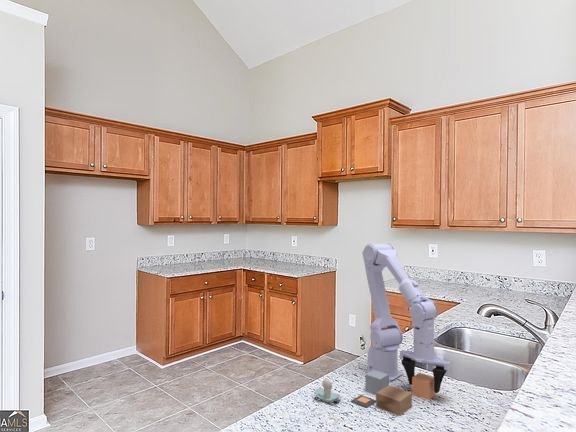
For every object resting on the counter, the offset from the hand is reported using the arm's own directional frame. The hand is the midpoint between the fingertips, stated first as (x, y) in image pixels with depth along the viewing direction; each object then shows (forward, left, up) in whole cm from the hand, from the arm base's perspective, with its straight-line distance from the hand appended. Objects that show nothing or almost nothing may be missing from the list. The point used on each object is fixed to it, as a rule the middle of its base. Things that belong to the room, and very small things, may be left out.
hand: (424, 387), depth 107 cm
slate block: (-11, -8, -2) cm, 14 cm away
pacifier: (-18, -23, -2) cm, 29 cm away
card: (-10, -17, -2) cm, 20 cm away
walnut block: (-3, -13, -2) cm, 14 cm away
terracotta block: (0, 0, -2) cm, 2 cm away
